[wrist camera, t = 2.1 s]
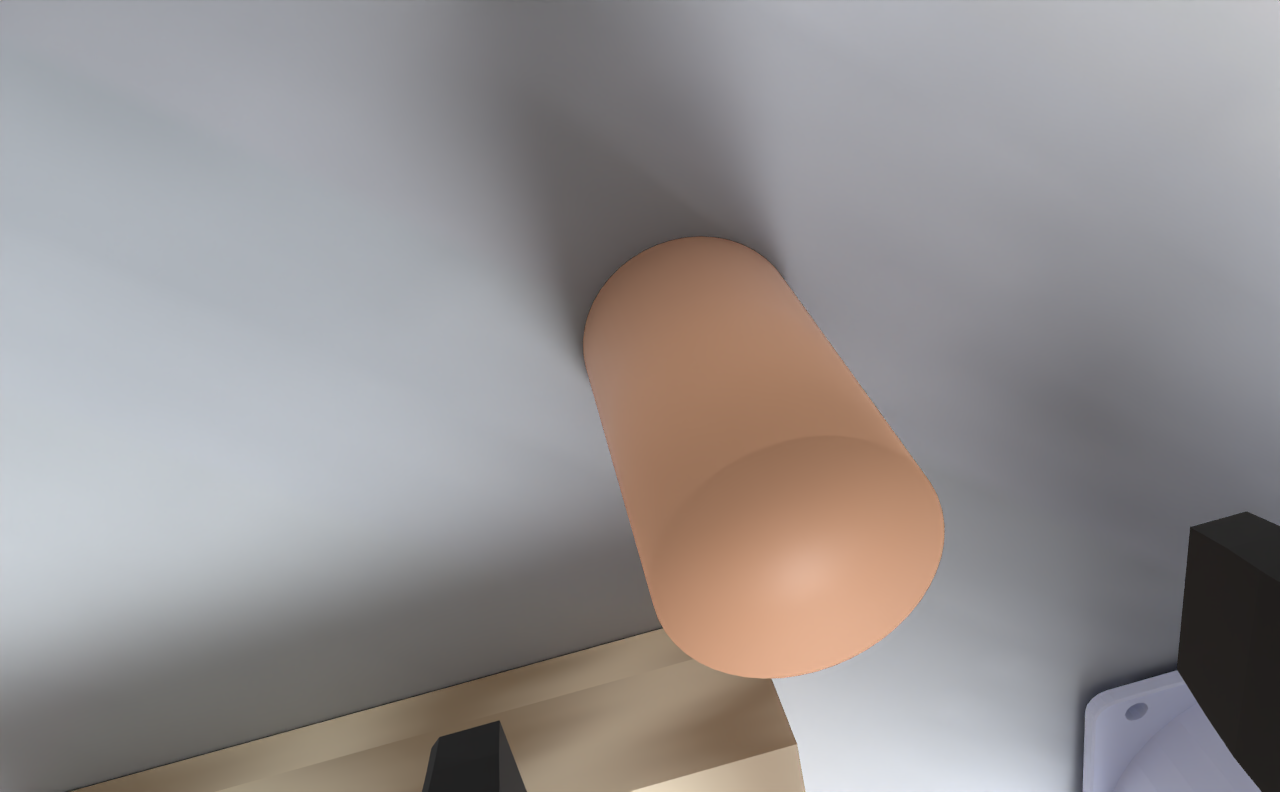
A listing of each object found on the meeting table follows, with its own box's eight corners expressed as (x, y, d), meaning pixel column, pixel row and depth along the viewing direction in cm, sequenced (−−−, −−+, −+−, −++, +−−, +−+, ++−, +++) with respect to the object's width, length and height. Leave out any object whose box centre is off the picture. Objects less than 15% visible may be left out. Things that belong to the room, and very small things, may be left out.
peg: (781, 211, 17) (936, 399, 12) (806, 401, 19) (951, 633, 14) (560, 268, 17) (622, 484, 12) (608, 454, 19) (679, 709, 14)
